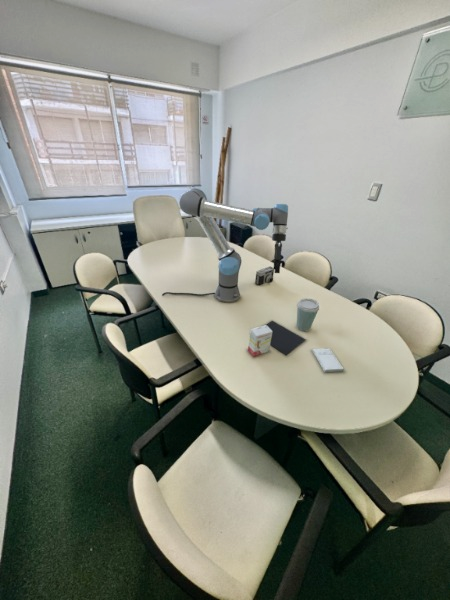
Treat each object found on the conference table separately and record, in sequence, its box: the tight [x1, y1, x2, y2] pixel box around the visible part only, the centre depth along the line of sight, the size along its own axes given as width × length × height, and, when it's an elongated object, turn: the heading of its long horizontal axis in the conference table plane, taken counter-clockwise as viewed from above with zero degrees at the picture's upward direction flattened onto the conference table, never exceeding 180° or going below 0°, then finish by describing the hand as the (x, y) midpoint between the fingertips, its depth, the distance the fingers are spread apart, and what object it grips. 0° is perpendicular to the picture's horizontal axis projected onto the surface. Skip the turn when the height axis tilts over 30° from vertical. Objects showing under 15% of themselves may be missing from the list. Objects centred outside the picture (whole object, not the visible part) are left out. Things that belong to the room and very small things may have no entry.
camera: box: [254, 266, 275, 287], centre depth 164 cm, size 14×8×10 cm, turn 129°
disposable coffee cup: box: [296, 297, 320, 332], centre depth 121 cm, size 11×11×15 cm
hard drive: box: [312, 347, 345, 373], centre depth 104 cm, size 2×8×12 cm
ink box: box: [247, 324, 273, 358], centre depth 105 cm, size 9×5×12 cm, turn 116°
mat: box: [265, 320, 306, 356], centre depth 117 cm, size 20×16×1 cm
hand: (276, 271), depth 142 cm, fingers open, 13 cm apart
